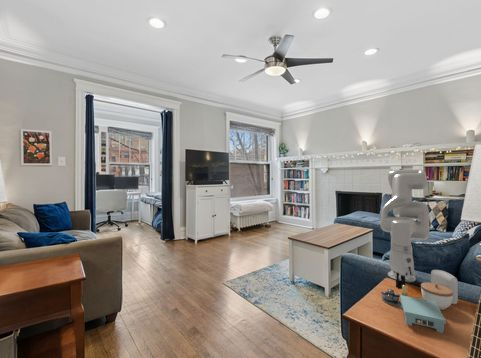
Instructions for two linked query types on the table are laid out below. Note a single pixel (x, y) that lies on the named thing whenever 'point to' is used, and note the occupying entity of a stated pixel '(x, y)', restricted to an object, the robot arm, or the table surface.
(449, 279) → the photo printer
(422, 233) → the robot arm
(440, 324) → the spoked knob panel
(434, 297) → the lidded jar
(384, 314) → the table surface
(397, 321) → the table surface
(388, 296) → the cross handle valve
